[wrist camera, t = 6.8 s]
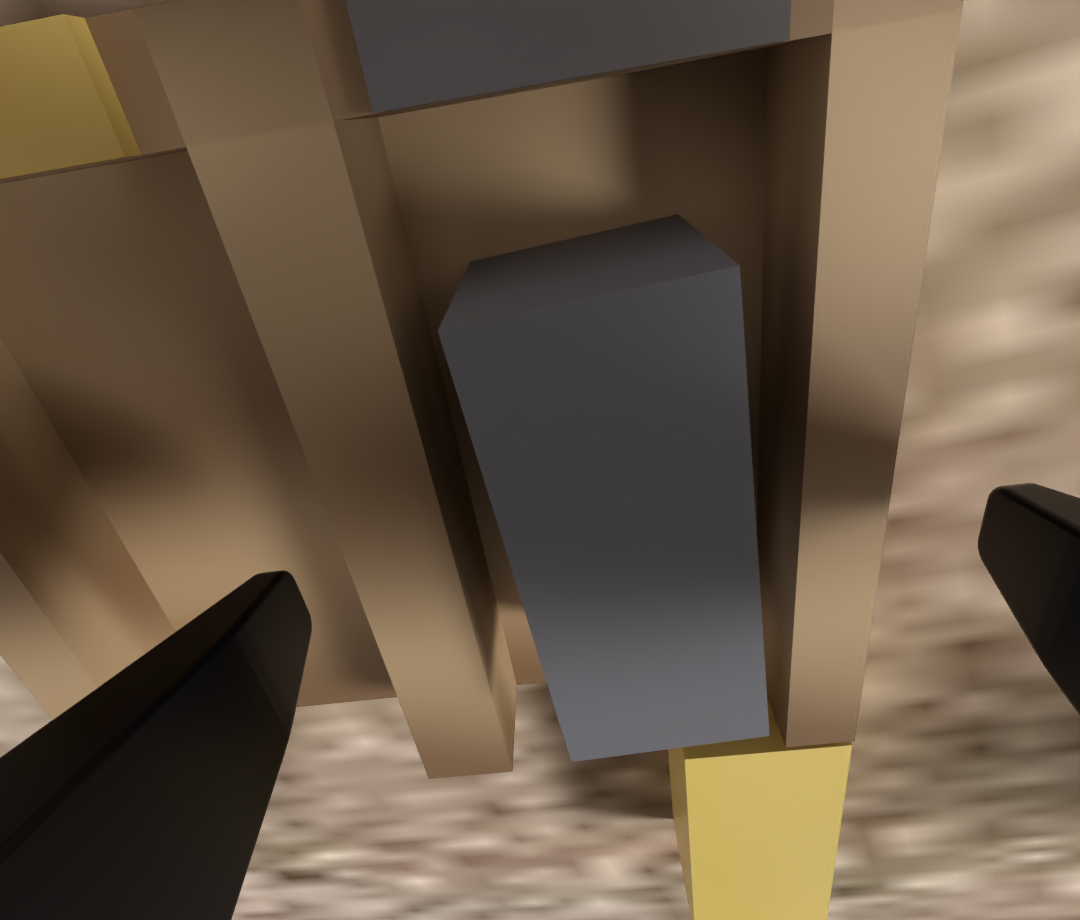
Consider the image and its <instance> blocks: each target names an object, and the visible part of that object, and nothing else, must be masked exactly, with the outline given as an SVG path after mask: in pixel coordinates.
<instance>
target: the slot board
mask: <svg viewBox="0 0 1080 920" xmlns="http://www.w3.org/2000/svg"><path fill="white" fill-rule="evenodd" d="M962 5H963V0H173V1H168V2H163V3H158V4H153V5H148V6H143V7H138V8H132V9H127V10H122V11H117V12H112V13H107V14H102V15H97V16H92V17H87V18H82V17H77V16H71V15H66V14H61V15H56V16H51V17H46V18H41V19H36V20H31V21H26V22H21V23H16V24H11V25H6V26H0V655H1V656H2V657H3V659H4V660H5V661H6V662H7V664H8V665H9V666H10V667H11V669H12V670H13V671H14V672H15V674H16V675H17V676H18V677H19V679H20V680H21V681H22V682H23V684H24V685H25V686H26V687H27V689H28V690H29V691H30V692H31V694H32V695H33V696H34V697H35V699H36V700H37V701H38V702H39V704H40V705H41V706H42V707H43V708H44V710H45V711H46V712H47V713H48V715H49V716H50V717H51V718H52V720H54V719H55V718H56V717H58V716H59V715H60V714H62V713H63V712H65V711H66V710H67V709H69V708H70V707H72V706H73V705H74V704H76V703H77V702H79V701H80V700H81V699H83V698H84V697H86V696H87V695H88V694H90V693H91V692H93V691H94V690H95V689H97V688H98V687H99V686H101V685H102V684H104V683H105V682H106V681H108V680H109V679H111V678H112V677H113V676H115V675H116V674H118V673H119V672H120V671H122V670H123V669H125V668H126V667H127V666H129V665H130V664H131V663H133V662H134V661H136V660H137V659H138V658H140V657H141V656H143V655H144V654H145V653H147V652H148V651H150V650H151V649H152V648H154V647H155V646H157V645H158V644H159V643H161V642H162V641H164V640H165V639H166V638H168V637H169V636H170V635H172V634H173V633H175V632H176V631H177V630H179V629H180V628H182V627H183V626H184V625H186V624H187V623H189V622H190V621H191V620H193V619H194V618H196V617H197V616H198V615H200V614H201V613H203V612H204V611H205V610H207V609H208V608H209V607H211V606H212V605H214V604H215V603H216V602H218V601H219V600H221V599H222V598H223V597H225V596H226V595H228V594H229V593H230V592H232V591H233V590H235V589H236V588H237V587H239V586H240V585H242V584H243V583H244V582H246V581H247V580H248V579H250V578H251V577H253V576H254V575H256V574H259V573H263V572H272V571H281V570H285V571H288V572H290V573H291V574H292V575H293V577H294V579H295V581H296V583H297V585H298V588H299V590H300V592H301V594H302V597H303V599H304V601H305V604H306V606H307V608H308V610H309V613H310V616H311V620H312V632H311V638H310V643H309V647H308V652H307V657H306V662H305V667H304V672H303V676H302V681H301V686H300V691H299V696H298V701H297V705H296V707H301V706H311V705H321V704H331V703H341V702H351V701H361V700H371V699H382V698H392V697H398V700H399V702H400V705H401V707H402V710H403V713H404V715H405V718H406V720H407V723H408V726H409V728H410V731H411V733H412V736H413V739H414V741H415V744H416V746H417V749H418V752H419V754H420V757H421V759H422V762H423V765H424V767H425V770H426V772H427V775H428V778H429V779H432V778H443V777H455V776H466V775H477V774H489V773H500V772H511V771H513V751H514V731H515V710H516V690H517V685H523V684H533V683H543V682H546V679H545V676H544V672H543V669H542V666H541V663H540V660H539V656H538V653H537V650H536V647H535V643H534V640H533V637H532V634H531V631H530V627H529V624H528V621H527V618H526V614H525V611H524V608H523V605H522V601H521V598H520V595H519V592H518V589H517V585H516V582H515V579H514V576H513V572H512V569H511V566H510V563H509V560H508V556H507V553H506V550H505V547H504V543H503V540H502V537H501V534H500V531H499V527H498V524H497V521H496V518H495V514H494V511H493V508H492V505H491V502H490V498H489V495H488V492H487V489H486V485H485V482H484V479H483V476H482V472H481V469H480V466H479V463H478V460H477V456H476V453H475V450H474V447H473V443H472V440H471V437H470V434H469V431H468V427H467V424H466V421H465V418H464V414H463V411H462V408H461V405H460V402H459V398H458V395H457V392H456V389H455V385H454V382H453V379H452V376H451V372H450V369H449V366H448V363H447V360H446V356H445V353H444V350H443V347H442V343H441V340H440V337H439V334H438V329H439V327H440V325H441V323H442V321H443V319H444V316H445V314H446V312H447V310H448V308H449V306H450V304H451V302H452V300H453V297H454V295H455V293H456V291H457V289H458V287H459V285H460V283H461V281H462V278H463V276H464V274H465V272H466V270H467V268H468V266H469V264H470V262H471V261H475V260H479V259H483V258H488V257H492V256H497V255H501V254H505V253H510V252H514V251H519V250H523V249H527V248H532V247H536V246H540V245H545V244H549V243H554V242H558V241H562V240H567V239H571V238H576V237H580V236H584V235H589V234H593V233H597V232H602V231H606V230H611V229H615V228H619V227H624V226H628V225H633V224H637V223H641V222H646V221H650V220H654V219H659V218H663V217H668V216H672V215H676V214H678V215H680V216H681V217H682V218H683V219H684V220H686V221H687V222H688V223H689V224H690V225H692V226H693V227H694V228H695V229H697V230H698V231H699V232H700V233H701V234H703V235H704V236H705V237H706V238H707V239H709V240H710V241H711V242H712V243H713V244H715V245H716V246H717V247H718V248H719V249H721V250H722V251H723V252H724V253H725V254H727V255H728V256H729V257H730V258H731V259H733V260H734V261H735V262H736V263H737V264H739V265H740V275H741V291H742V307H743V323H744V339H745V355H746V371H747V386H748V402H749V418H750V434H751V450H752V466H753V482H754V498H755V513H756V529H757V545H758V561H759V577H760V593H761V609H762V625H763V641H764V656H765V672H766V688H767V698H768V701H769V704H770V706H771V709H772V712H773V714H774V717H775V720H776V722H777V725H778V728H779V730H780V733H781V736H782V738H783V741H784V744H785V746H786V747H795V746H807V745H818V744H829V743H841V742H852V741H854V740H855V734H856V727H857V720H858V713H859V706H860V700H861V693H862V686H863V679H864V672H865V666H866V659H867V652H868V645H869V638H870V632H871V625H872V618H873V611H874V604H875V597H876V591H877V584H878V577H879V570H880V563H881V557H882V550H883V543H884V536H885V529H886V523H887V516H888V509H889V502H890V495H891V489H892V482H893V475H894V468H895V461H896V455H897V448H898V441H899V434H900V427H901V421H902V414H903V407H904V400H905V393H906V387H907V380H908V373H909V366H910V359H911V352H912V346H913V339H914V332H915V325H916V318H917V312H918V305H919V298H920V291H921V284H922V278H923V271H924V264H925V257H926V250H927V244H928V237H929V230H930V223H931V216H932V210H933V203H934V196H935V189H936V182H937V176H938V169H939V162H940V155H941V148H942V141H943V135H944V128H945V121H946V114H947V107H948V101H949V94H950V87H951V80H952V73H953V67H954V60H955V53H956V46H957V39H958V33H959V26H960V19H961V12H962Z"/></svg>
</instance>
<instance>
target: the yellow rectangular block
mask: <svg viewBox="0 0 1080 920" xmlns="http://www.w3.org/2000/svg"><path fill="white" fill-rule="evenodd" d="M767 704H768V720H769V736H765V737H758V738H750V739H742V740H735V741H727V742H720V743H712V744H705V745H697V746H690V747H682V748H674V749H668V756H669V769H670V782H671V794H672V807H673V820H674V825H675V831H676V836H677V842H678V848H679V853H680V859H681V865H682V870H683V876H684V882H685V887H686V893H687V899H688V904H689V910H690V916H691V920H827V915H828V909H829V902H830V895H831V888H832V881H833V874H834V867H835V860H836V853H837V847H838V840H839V833H840V826H841V819H842V812H843V805H844V798H845V792H846V785H847V778H848V771H849V764H850V757H851V750H852V744H851V742H841V743H829V744H818V745H807V746H795V747H786V746H785V744H784V741H783V738H782V736H781V733H780V730H779V728H778V725H777V722H776V720H775V717H774V714H773V712H772V709H771V706H770V704H769V701H768V698H767Z"/></svg>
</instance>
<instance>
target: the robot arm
mask: <svg viewBox="0 0 1080 920" xmlns="http://www.w3.org/2000/svg"><path fill="white" fill-rule="evenodd" d="M978 550H979V554H980V557H981V559H982V561H983V563H984V565H985V567H986V568H987V570H988V572H989V573H990V575H991V577H992V579H993V580H994V582H995V584H996V585H997V587H998V589H999V591H1000V592H1001V594H1002V596H1003V597H1004V599H1005V601H1006V603H1007V604H1008V606H1009V608H1010V609H1011V611H1012V613H1013V615H1014V616H1015V618H1016V620H1017V621H1018V623H1019V625H1020V627H1021V628H1022V630H1023V632H1024V633H1025V635H1026V637H1027V638H1028V640H1029V642H1030V644H1031V645H1032V647H1033V649H1034V650H1035V652H1036V653H1037V655H1038V657H1039V658H1040V660H1041V661H1042V663H1043V665H1044V666H1045V668H1046V669H1047V670H1048V672H1049V673H1050V675H1051V676H1052V678H1053V679H1054V680H1055V682H1056V683H1057V685H1058V686H1059V688H1060V689H1061V690H1062V692H1063V693H1064V694H1065V696H1066V697H1067V698H1068V700H1069V701H1070V703H1071V704H1072V705H1073V707H1074V708H1075V709H1076V711H1077V712H1078V713H1079V715H1080V498H1078V497H1075V496H1072V495H1068V494H1065V493H1062V492H1059V491H1056V490H1053V489H1050V488H1047V487H1044V486H1040V485H1037V484H1032V483H1025V484H1016V485H1008V486H1000V487H997V488H995V489H994V490H993V491H992V492H991V493H990V494H989V497H988V500H987V504H986V508H985V512H984V517H983V521H982V525H981V529H980V533H979V538H978ZM311 632H312V620H311V616H310V613H309V610H308V608H307V606H306V604H305V601H304V599H303V597H302V594H301V592H300V590H299V588H298V585H297V583H296V581H295V579H294V577H293V575H292V574H291V573H290V572H288V571H285V570H281V571H272V572H263V573H259V574H256V575H254V576H253V577H251V578H250V579H248V580H247V581H246V582H244V583H243V584H242V585H240V586H239V587H237V588H236V589H235V590H233V591H232V592H230V593H229V594H228V595H226V596H225V597H223V598H222V599H221V600H219V601H218V602H216V603H215V604H214V605H212V606H211V607H209V608H208V609H207V610H205V611H204V612H203V613H201V614H200V615H198V616H197V617H196V618H194V619H193V620H191V621H190V622H189V623H187V624H186V625H184V626H183V627H182V628H180V629H179V630H177V631H176V632H175V633H173V634H172V635H170V636H169V637H168V638H166V639H165V640H164V641H162V642H161V643H159V644H158V645H157V646H155V647H154V648H152V649H151V650H150V651H148V652H147V653H145V654H144V655H143V656H141V657H140V658H138V659H137V660H136V661H134V662H133V663H131V664H130V665H129V666H127V667H126V668H125V669H123V670H122V671H120V672H119V673H118V674H116V675H115V676H113V677H112V678H111V679H109V680H108V681H106V682H105V683H104V684H102V685H101V686H99V687H98V688H97V689H95V690H94V691H93V692H91V693H90V694H88V695H87V696H86V697H84V698H83V699H81V700H80V701H79V702H77V703H76V704H74V705H73V706H72V707H70V708H69V709H67V710H66V711H65V712H63V713H62V714H60V715H59V716H58V717H56V718H55V719H54V720H52V721H51V722H49V723H48V724H47V725H45V726H44V727H42V728H41V729H40V730H38V731H37V732H35V733H34V734H33V735H31V736H30V737H28V738H27V739H26V740H24V741H23V742H21V743H20V744H19V745H17V746H16V747H15V748H13V749H12V750H10V751H9V752H8V753H6V754H5V755H3V756H2V757H1V758H0V920H231V919H232V916H233V912H234V909H235V906H236V903H237V900H238V897H239V894H240V891H241V888H242V884H243V881H244V878H245V875H246V872H247V869H248V866H249V863H250V860H251V856H252V853H253V850H254V847H255V844H256V841H257V838H258V835H259V831H260V828H261V825H262V822H263V819H264V816H265V813H266V810H267V807H268V803H269V800H270V797H271V794H272V791H273V788H274V785H275V782H276V779H277V775H278V772H279V769H280V766H281V763H282V760H283V757H284V754H285V750H286V747H287V743H288V740H289V737H290V732H291V728H292V724H293V720H294V715H295V710H296V705H297V701H298V696H299V691H300V686H301V681H302V676H303V672H304V667H305V662H306V657H307V652H308V647H309V643H310V638H311Z"/></svg>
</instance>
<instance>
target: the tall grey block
mask: <svg viewBox="0 0 1080 920" xmlns="http://www.w3.org/2000/svg"><path fill="white" fill-rule="evenodd" d="M438 334H439V337H440V340H441V343H442V347H443V350H444V353H445V356H446V360H447V363H448V366H449V369H450V372H451V376H452V379H453V382H454V385H455V389H456V392H457V395H458V398H459V402H460V405H461V408H462V411H463V414H464V418H465V421H466V424H467V427H468V431H469V434H470V437H471V440H472V443H473V447H474V450H475V453H476V456H477V460H478V463H479V466H480V469H481V472H482V476H483V479H484V482H485V485H486V489H487V492H488V495H489V498H490V502H491V505H492V508H493V511H494V514H495V518H496V521H497V524H498V527H499V531H500V534H501V537H502V540H503V543H504V547H505V550H506V553H507V556H508V560H509V563H510V566H511V569H512V572H513V576H514V579H515V582H516V585H517V589H518V592H519V595H520V598H521V601H522V605H523V608H524V611H525V614H526V618H527V621H528V624H529V627H530V631H531V634H532V637H533V640H534V643H535V647H536V650H537V653H538V656H539V660H540V663H541V666H542V669H543V672H544V676H545V679H546V682H547V685H548V689H549V692H550V695H551V698H552V701H553V705H554V708H555V711H556V714H557V718H558V721H559V724H560V727H561V731H562V734H563V737H564V740H565V743H566V747H567V750H568V753H569V756H570V760H571V762H576V761H584V760H591V759H599V758H607V757H614V756H622V755H629V754H637V753H644V752H652V751H659V750H667V749H674V748H682V747H690V746H697V745H705V744H712V743H720V742H727V741H735V740H742V739H750V738H758V737H765V736H769V720H768V704H767V688H766V672H765V656H764V641H763V625H762V609H761V593H760V577H759V561H758V545H757V529H756V513H755V498H754V482H753V466H752V450H751V434H750V418H749V402H748V386H747V371H746V355H745V339H744V323H743V307H742V291H741V275H740V265H739V264H737V263H736V262H735V261H734V260H733V259H731V258H730V257H729V256H728V255H727V254H725V253H724V252H723V251H722V250H721V249H719V248H718V247H717V246H716V245H715V244H713V243H712V242H711V241H710V240H709V239H707V238H706V237H705V236H704V235H703V234H701V233H700V232H699V231H698V230H697V229H695V228H694V227H693V226H692V225H690V224H689V223H688V222H687V221H686V220H684V219H683V218H682V217H681V216H680V215H678V214H676V215H672V216H668V217H663V218H659V219H654V220H650V221H646V222H641V223H637V224H633V225H628V226H624V227H619V228H615V229H611V230H606V231H602V232H597V233H593V234H589V235H584V236H580V237H576V238H571V239H567V240H562V241H558V242H554V243H549V244H545V245H540V246H536V247H532V248H527V249H523V250H519V251H514V252H510V253H505V254H501V255H497V256H492V257H488V258H483V259H479V260H475V261H471V262H470V264H469V266H468V268H467V270H466V272H465V274H464V276H463V278H462V281H461V283H460V285H459V287H458V289H457V291H456V293H455V295H454V297H453V300H452V302H451V304H450V306H449V308H448V310H447V312H446V314H445V316H444V319H443V321H442V323H441V325H440V327H439V329H438Z"/></svg>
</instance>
